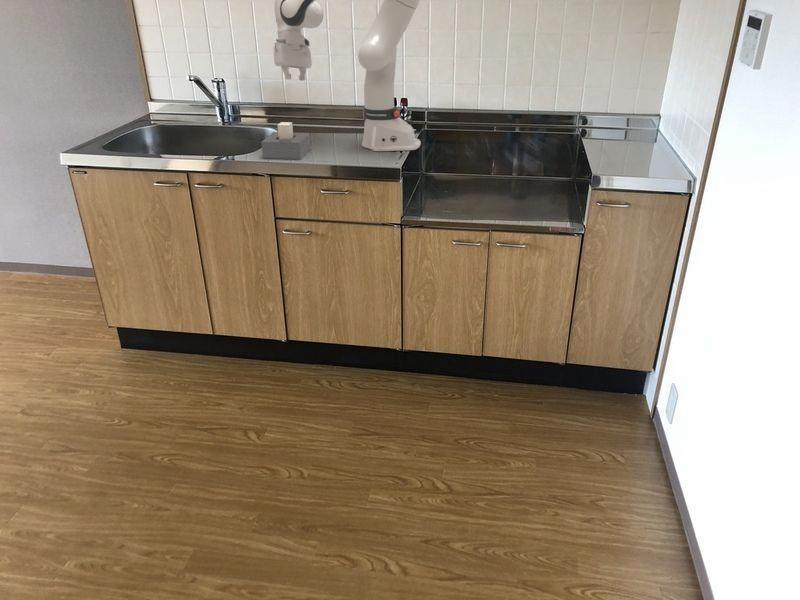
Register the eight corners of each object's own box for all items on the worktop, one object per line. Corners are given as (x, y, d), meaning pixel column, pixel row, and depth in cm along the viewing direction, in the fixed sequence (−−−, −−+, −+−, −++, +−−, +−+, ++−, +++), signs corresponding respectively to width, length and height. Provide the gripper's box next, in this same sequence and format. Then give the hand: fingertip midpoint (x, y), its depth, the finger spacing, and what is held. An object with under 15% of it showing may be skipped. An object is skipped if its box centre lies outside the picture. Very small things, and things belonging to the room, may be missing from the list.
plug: (294, 152, 248) (292, 122, 243) (291, 155, 244) (288, 125, 239) (283, 152, 249) (280, 122, 244) (280, 155, 245) (277, 124, 240)
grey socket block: (310, 149, 252) (309, 133, 249) (300, 159, 240) (299, 142, 237) (274, 148, 254) (273, 132, 251) (263, 158, 241) (261, 141, 239)
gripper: (281, 36, 238) (286, 77, 241) (312, 42, 256) (316, 80, 259) (267, 39, 241) (272, 79, 244) (298, 44, 259) (303, 82, 262)
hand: (295, 79), depth 252 cm, fingers open, 8 cm apart
